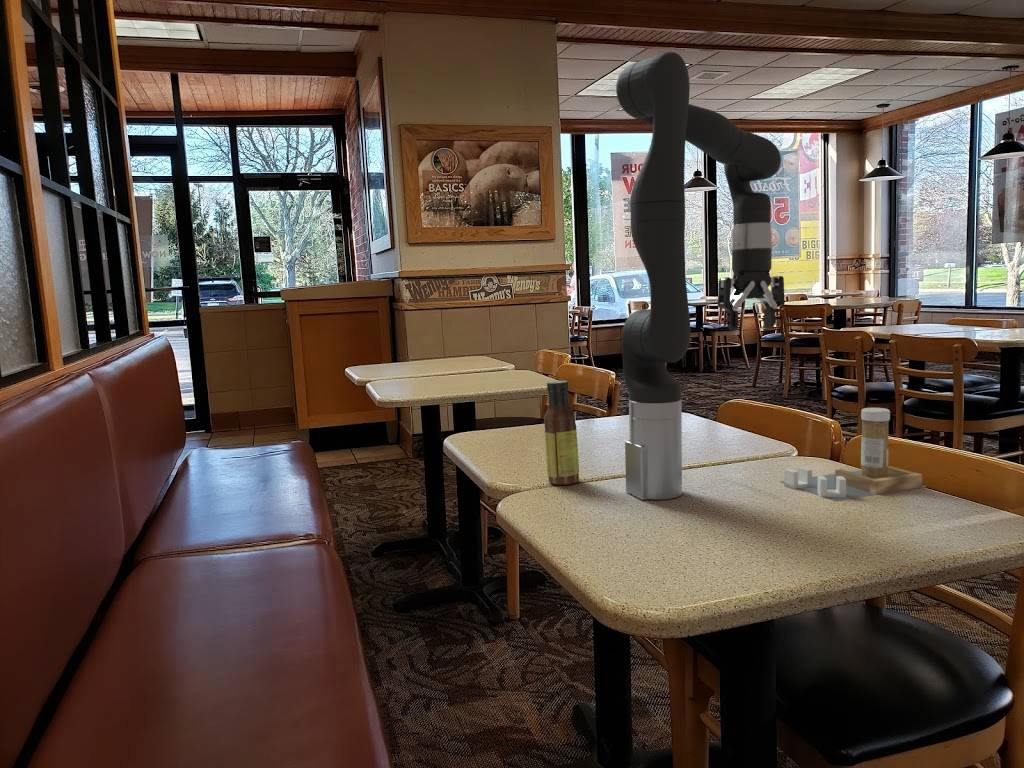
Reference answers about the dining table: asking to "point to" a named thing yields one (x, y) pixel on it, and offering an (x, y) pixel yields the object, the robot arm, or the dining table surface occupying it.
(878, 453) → the sprinkles bottle
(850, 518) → the dining table surface
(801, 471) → the board
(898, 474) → the end holder
